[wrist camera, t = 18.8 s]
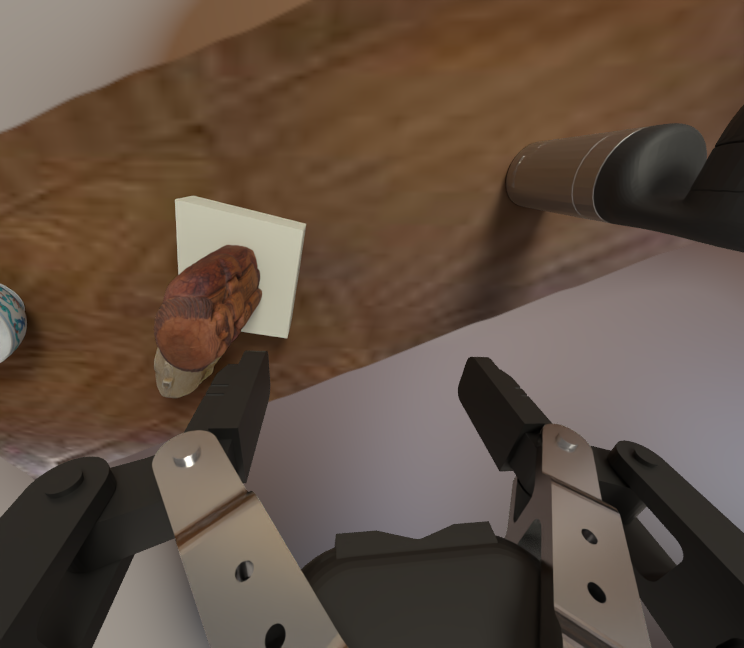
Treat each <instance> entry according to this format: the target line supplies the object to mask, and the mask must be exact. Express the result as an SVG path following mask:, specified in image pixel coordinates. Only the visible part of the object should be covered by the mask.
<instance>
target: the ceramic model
mask: <svg viewBox="0 0 744 648" xmlns="http://www.w3.org/2000/svg"><path fill="white" fill-rule="evenodd" d="M220 358H221V356H220V357H219V358H216V359H215V360H214V361H213V362H212V363H211V364H209V365H208V367H207V368H205V369H204V370H203V371H200V372H190V371H189V372H186V371H181V370H179V369H177V368H175V367H173V366H172V365H170V364H169V363H168V362H166V361H165V359H164V358H163V356H162V355H161V353H160V350H159V348H157V351H156V355H155V359H154V369H155V372H156V382H157V387H158V389H159V391H160V394H161V395H162V396H164V397H170V398H179V397H181V396H184V395H187V394H189V393H191V392H193V391H194V390H195V389H196V388H197V387H198V385H199V384H201V383H202V381H203V380H204V379H206V378H207V377H208V376H210V375H211V374H212V372H213V369H214V365H215V364H216V363H217V362H218V360H219V359H220Z"/></svg>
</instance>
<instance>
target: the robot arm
mask: <svg viewBox="0 0 744 648" xmlns="http://www.w3.org/2000/svg"><path fill="white" fill-rule="evenodd" d="M506 189H507V193H508V196H509V198H510V199H511V200H512V202H514V203H515V204H516V205H519V206H522V207H527V208H532V209H537V210H542V211H548V212H553V213H558V214H564V215H569V216H574V217H579V218H585V219H590V220H596V221H601V222H607V223H612V224H618V225H624V226H630V227H636V228H642V229H647V230H652V231H657V232H661V233H666V234H670V235H674V236H678V237H682V238H686V239H690V240H693V241H697V242H701V243H705V244H709V245H713V246H717V247H721V248H726V249H731V250H735V251H740V252H744V105H743V106H742V107H741V108H740V110H739V111H738V112H737V113H736V115H735V116H734V117H733V119H732V120H731V121H730V123H729V124H728V126H727V127H726V129H725V130H724V132H723V133H722V135H721V137H720V138H719V140H718V142H717V143H716V145H715V148H714V149H713V150H712V152H711V154H710V155H709V157H708V159H707V150H706V144H705V141H704V139H703V137H702V135H701V133H700V132H699V131H698V130H696V129H695V128H694V127H692V126H689V125H685V124H679V123H675V124H663V125H656V126H649V127H642V128H635V129H627V130H621V131H614V132H607V133H599V134H592V135H585V136H578V137H570V138H563V139H555V140H548V141H541V142H536V143H533V144H530V145H528V146H527V147H525V148H524V149H523V150H522V151H520V152H519V153H518V155H517V156H516V157H515V158H514V160H513V162H512V163H511V165H510V168H509V170H508V173H507V178H506ZM269 395H270V374H269V359H268V352H267V351H245V352H244V354H243V356H242V358H241V360H240V362H239V364H228V365H227V366H226V367H224V368H223V369H222V370H221V371H219V372H218V373H217V374H216V376H215V378H214V380H213V382H212V383H211V386H210V387H209V389H208V390H207V392H206V396H204V398H203V399H202V401H201V403H200V405H199V407H198V408H197V410H196V412H195V414H194V415H193V417H192V419H191V421H190V423H189V424H188V426H187V428H186V430H185V432H184V433H183V434H180V435H178V436H176V437H174V438H172V439H171V440H169V441H168V442H166V443H165V444H164V445H163V446H162V447H161V448H160V449H159V450H158V451H157V453H156V455H154V456H151V457H148V458H145V459H142V460H138V461H134V462H131V463H127V464H123V465H120V466H116V467H112V468H110V467H109V465H108V463H107V462H106V461H105V460H104V459H102V458H99V457H82V458H78V459H74V460H71V461H68V462H65V463H63V464H60V465H58V466H56V467H54V468H52V469H51V470H49V471H47V472H46V473H44V474H43V475H41V476H40V477H39V478H37V479H36V480H35V481H34V482H33V483H31V484H30V485H29V486H28V487H27V488H26V489H25V490H24V492H23V493H22V494H21V495H20V496H19V497H18V499H16V501H15V502H14V503H13V504H12V505H11V506H10V507H9V508H8V510H7V511H6V512H5V513H4V514H3V515H2V516H1V517H0V648H92V647H93V644H94V642H95V640H96V638H97V636H98V634H99V631H100V629H101V627H102V625H103V623H104V620H105V618H106V616H107V614H108V612H109V609H110V607H111V605H112V603H113V600H114V598H115V596H116V594H117V592H118V590H119V587H120V585H121V583H122V581H123V579H124V577H125V574H126V572H127V570H128V568H129V565H130V563H131V561H132V559H133V557H134V555H135V554H136V553H138V552H141V551H143V550H146V549H148V548H151V547H154V546H156V545H158V544H161V543H164V542H166V541H169V540H171V539H174V538H176V544H177V547H178V550H179V554H180V557H181V560H182V563H183V566H184V569H185V571H186V575H187V578H188V581H189V584H190V587H191V590H192V593H193V596H194V599H195V602H196V605H197V608H198V611H199V614H200V618H201V620H202V624H203V627H204V630H205V633H206V636H207V639H208V642H209V645H210V648H651V644H650V640H649V635H648V631H647V627H646V623H645V618H644V614H643V610H642V606H641V601H640V598H641V600H642V602H643V603H644V604H645V606H646V607H647V609H648V610H649V612H650V613H651V615H652V616H653V618H654V619H655V621H656V622H657V624H658V625H659V626H660V628H661V629H662V631H663V632H664V634H665V635H666V637H667V638H668V640H669V641H670V643H671V644H672V646H673V647H674V648H744V533H743V532H742V531H741V530H740V529H739V528H737V527H736V526H735V525H734V524H733V523H732V522H731V521H730V520H729V519H728V518H727V517H725V516H724V515H723V514H722V513H721V512H720V511H719V510H718V509H717V508H716V507H714V506H713V505H712V504H711V503H710V502H709V501H708V500H707V499H706V498H705V497H704V496H703V495H701V494H700V493H699V492H698V491H697V490H696V489H695V488H694V487H693V486H692V485H691V484H689V483H688V482H687V481H686V480H685V479H684V478H683V477H682V476H681V475H680V474H678V473H677V472H676V471H675V470H674V469H673V468H672V467H671V466H670V465H669V464H668V463H666V462H665V461H664V460H663V459H662V458H661V457H659V456H658V455H657V454H655V453H654V452H653V451H651V450H649V449H648V448H646V447H644V446H642V445H639V444H637V443H634V442H630V441H619V442H618V443H617V444H616V445H615V447H614V448H613V449H612V450H611V451H610V450H605V449H602V448H597V447H594V446H590V445H589V443H587V441H586V440H585V439H584V438H583V437H582V436H581V435H579V434H578V433H576V432H575V431H573V430H571V429H570V428H568V427H565V426H563V425H559V424H552V423H551V421H550V420H549V419H548V418H547V417H546V416H545V415H544V414H543V412H542V411H541V410H540V409H539V408H538V407H537V405H536V404H535V403H534V402H533V401H532V400H531V399H530V398H529V397H528V396H527V394H526V393H525V392H524V391H523V390H522V389H520V386H519V385H518V384H517V383H516V382H515V380H514V379H513V378H512V377H511V376H509V375H508V374H506V373H505V372H503V371H502V370H500V369H499V368H498V367H497V366H496V365H495V364H494V362H492V360H491V359H489V358H488V357H470V358H468V360H467V362H466V365H465V368H464V371H463V374H462V377H461V380H460V383H459V386H458V396H459V400H460V402H461V403H462V405H463V407H464V409H465V410H466V412H467V414H468V416H469V418H470V419H471V421H472V423H473V425H474V427H475V428H476V430H477V432H478V434H479V436H480V437H481V439H482V441H483V442H484V444H485V446H486V448H487V449H488V451H489V453H490V455H491V457H492V459H493V460H494V462H495V464H496V466H497V467H498V469H499V471H514V473H515V474H516V477H515V478H514V480H513V485H512V494H511V502H510V511H509V519H508V528H507V532H506V536H505V538H502V537H499V536H495V534H494V532H493V530H492V528H491V525H490V523H489V521H487V522H475V523H464V524H453V525H451V526H449V527H447V528H444V529H442V530H440V531H438V532H436V533H433V534H431V535H429V536H426V537H424V538H422V539H413V538H408V537H403V536H399V535H394V534H389V533H385V532H380V531H367V532H354V533H342V534H336V539H335V547H334V548H332V549H330V550H328V551H326V552H324V553H322V554H321V555H319V556H317V557H316V558H314V559H313V560H312V561H311V562H309V563H308V564H307V565H305V566H304V567H303V568H302V569H300V568H299V566H298V565H297V563H296V561H295V559H294V557H293V556H292V554H291V552H290V551H289V549H288V548H287V546H286V544H285V542H284V541H283V539H282V537H281V536H280V534H279V532H278V530H277V529H276V527H275V525H274V524H273V522H272V520H271V519H270V517H269V515H268V514H267V512H266V510H265V509H264V507H263V505H262V503H261V502H260V500H259V499H258V497H257V496H256V494H255V493H254V492H252V491H250V492H248V491H247V490H246V488H245V487H244V485H243V483H246V482H247V478H248V475H249V471H250V467H251V463H252V460H253V456H254V452H255V449H256V445H257V441H258V437H259V434H260V430H261V426H262V422H263V419H264V415H265V411H266V408H267V404H268V400H269ZM645 507H648V508H649V509H650V510H651V511H652V512H653V514H654V515H655V516H656V517H657V518H658V519H659V520H660V522H661V523H662V524H663V525H664V526H665V527H666V528H667V529H668V530H669V532H670V533H671V534H672V535H673V536H674V537H675V538H676V540H677V541H678V542H679V544H680V546H681V548H682V550H683V556H684V557H683V560H682V562H681V563H680V564H678V565H676V564H675V563H674V562H673V561H672V559H671V558H670V557H669V556H668V555H667V553H666V552H665V551H664V550H663V548H662V547H661V546H660V545H659V544H658V542H657V541H656V540H655V539H654V538H653V536H652V535H651V534H650V533H649V532H648V530H647V529H646V528H645V527H644V526H643V525H642V523H641V522H640V521H639V520H638V519H637V517H636V516H637V515H638V514H639V513H641V511H643V510H644V508H645Z"/></svg>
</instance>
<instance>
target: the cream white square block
mask: <svg viewBox="0 0 744 648" xmlns="http://www.w3.org/2000/svg"><path fill="white" fill-rule="evenodd" d="M175 209H176V231H177V253H178V275H179V274H180V273H181V272H182V271H183V270H185V269H186V268H187V267H189V266H191V265H192V264H193V263H196V262H197V261H198V260H200V259H201V258H203V257H205V256H207V255H208V254H210V253H211V252H214V251H216V250H218V249H219V248H221V247H223V246H225V245H239V246H245V247H248V248H249V249H251V250H253V251H254V254H255V257H256V260H257V266H258V267H257V268H258V269H259V271H260V282H259V289H261V290H262V298H261V301H260V303H259V304H258V306H257V307H256V309H255V310H254V312H253V314H252V315H251V317H250V318H249V320H248V322H247V323H246V325H245V326H244V327H243V328H242V329H241V332H248V333H255V334H261V335H268V336H275V337H281V338H287V337H288V333H289V329H290V325H291V320H292V314H293V307H294V301H295V294H296V288H297V281H298V275H299V268H300V262H301V255H302V249H303V242H304V236H305V229H306V224H305V223H301V222H297V221H293V220H289V219H285V218H281V217H277V216H273V215H269V214H265V213H261V212H257V211H253V210H249V209H245V208H241V207H237V206H233V205H229V204H225V203H221V202H217V201H213V200H209V199H205V198H201V197H197V196H190V197H184V198H179V199H175Z"/></svg>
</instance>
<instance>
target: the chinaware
mask: <svg viewBox="0 0 744 648" xmlns="http://www.w3.org/2000/svg"><path fill="white" fill-rule="evenodd" d="M26 329H27V318H26V314H25V306H24V303H23V301H22V300H21V298H20V297H19V296H18V295H17V294H16V293H15V292H14V291H12V290H11V289H10V288H8V287H6V286H4V285H2V284H0V363H1V362H3V361H4V360H5V359H7V358H8V357H9V356H10V355H11V354H12V353H13V352H14V351H15V350H16V349H17V348H18V346H19V345H20V343H21V342H22V340H23V338H24V336H25V333H26Z"/></svg>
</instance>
